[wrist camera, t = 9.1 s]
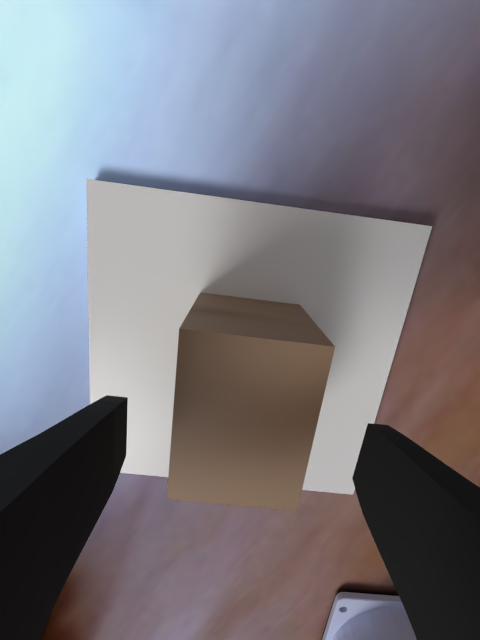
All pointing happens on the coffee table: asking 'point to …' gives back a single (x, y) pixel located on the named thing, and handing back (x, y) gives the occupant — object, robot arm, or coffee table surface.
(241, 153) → the coffee table surface
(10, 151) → the coffee table surface
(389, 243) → the baseplate
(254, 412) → the walnut brick
